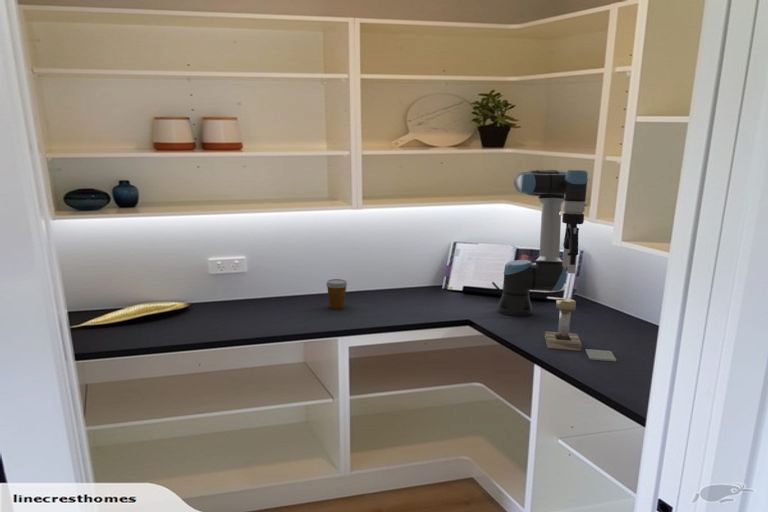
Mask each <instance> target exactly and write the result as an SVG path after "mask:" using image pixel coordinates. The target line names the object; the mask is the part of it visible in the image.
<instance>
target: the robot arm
mask: <svg viewBox="0 0 768 512" xmlns="http://www.w3.org/2000/svg"><path fill="white" fill-rule="evenodd" d="M588 174H589V173H588V171H587V170H580V169H568V170H566V171H565V170H557V169H526V170H523V171H520V172H519V173H517V174H515V176H514V177H513V181H512V183H513V188H514V190H515V191H517V192H518V193H520V194H522V195H526V196H534V197H535V196H537V197H538V199H537V200H538V202H539V203H541V210H540V212H541V215H540V232H539V233H540V235H539V236H540V237H539V256H538V258H536V260H535V263H534V264H533V262H532V261H531V260H527V259H526V260H525V259H518V260H517V259H516V260H511V261H508V262H507V263H505V265H504V270H503V285H502V295H501V298H500V300H499V302H498V305H497V311H498V312H499V313H501V314H503V315H506V316H512V317H527V316H529V315H531V314H532V313H533V307H532V302H531V299H530V291H538V292H539V291H540V292H560V291H561V290H563V288H564V285H565V283H566V279H567V274H573V275H574V274H576V271H577V258H578V255H579V231H580V228H579V227H578V225H583V224H584V222H585V221H584V220H585V214H584V212H585V209H586V208H585V207H587V206H588V205H587V204H586V199H587V188H588V181H589V178H588ZM562 205H563V206H562ZM560 211H561V212H563V213H562V214H561V215H559V212H560ZM562 223H563V224H565V226H566V227H565V232H564V239H563V243H562V245H563V255H562V258H560V251H561V250H560V249H561V226H562Z"/></svg>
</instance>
